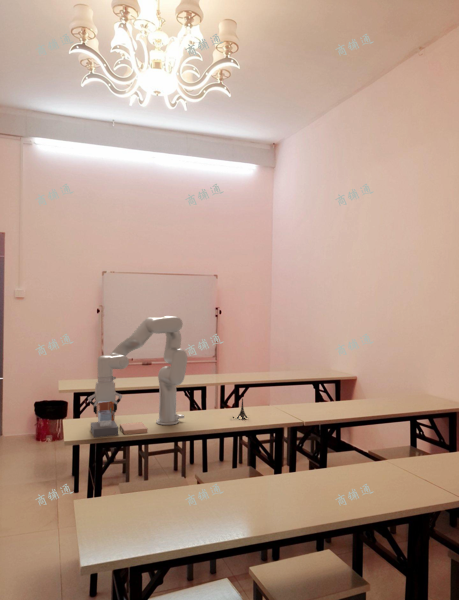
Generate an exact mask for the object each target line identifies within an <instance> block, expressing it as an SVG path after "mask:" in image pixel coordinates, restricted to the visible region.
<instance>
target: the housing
mask: <svg viewBox="0 0 459 600" xmlns="http://www.w3.org/2000/svg"><path fill="white" fill-rule="evenodd" d="M111 418H112V414H111V412H110V411H109V410H103V411H99V410H97V422H98V424H99V426H100V427H111Z"/></svg>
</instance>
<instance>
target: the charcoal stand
mask: <svg viewBox="0 0 459 600" xmlns="http://www.w3.org/2000/svg"><path fill="white" fill-rule="evenodd" d="M90 431H91V432H90V433H91V434H92V436H93V438H101V437H111V436H112V437H113V436H119V426H118V424H117V423H116V422H115V420H114V421H111V427H100V426H99V424H98V421H96V422H95V421H93V422H90Z"/></svg>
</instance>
